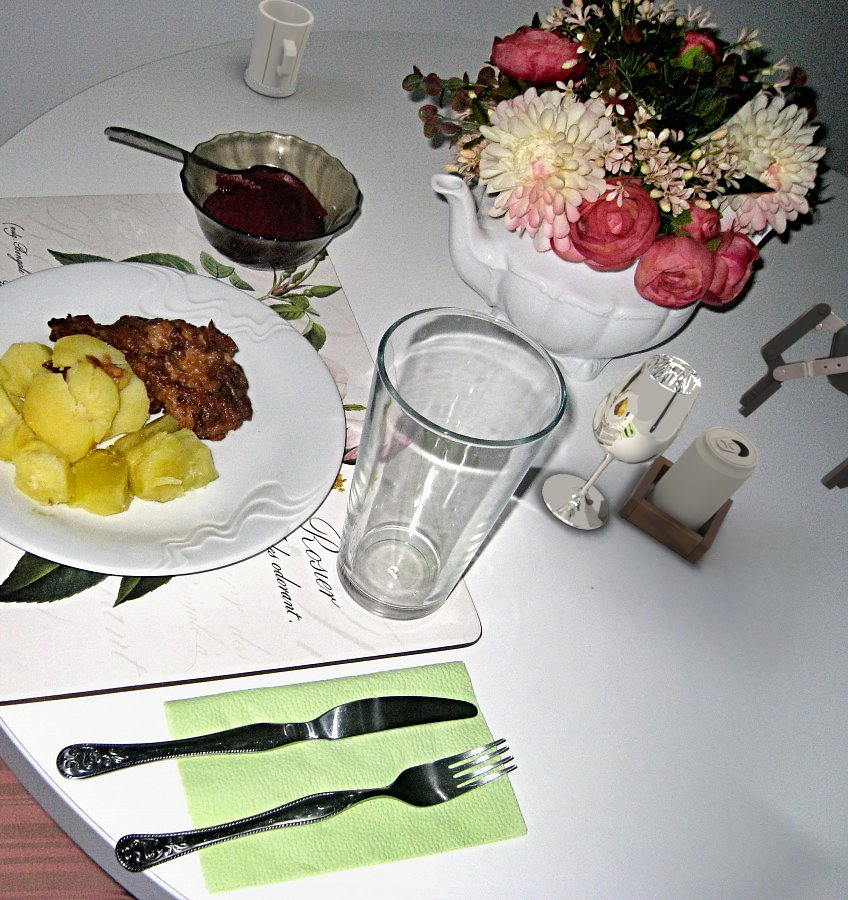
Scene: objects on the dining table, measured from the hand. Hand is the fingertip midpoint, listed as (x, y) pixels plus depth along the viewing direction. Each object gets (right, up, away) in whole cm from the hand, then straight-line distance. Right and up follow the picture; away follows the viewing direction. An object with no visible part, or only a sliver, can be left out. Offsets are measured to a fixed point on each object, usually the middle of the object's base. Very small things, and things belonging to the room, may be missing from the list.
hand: (782, 449), depth 75 cm
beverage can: (+2, -7, +26) cm, 27 cm away
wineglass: (-9, -6, +24) cm, 26 cm away
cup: (-41, +60, +73) cm, 103 cm away
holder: (+2, -7, +25) cm, 27 cm away
